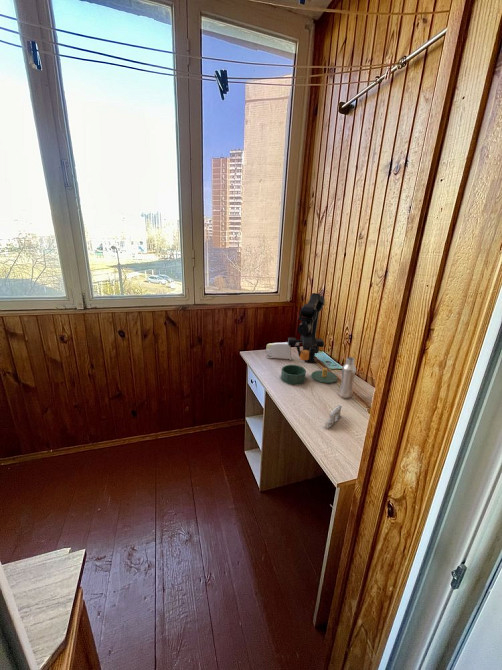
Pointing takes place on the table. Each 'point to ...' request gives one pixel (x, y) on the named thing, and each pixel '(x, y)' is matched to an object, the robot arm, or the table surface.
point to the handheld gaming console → (278, 350)
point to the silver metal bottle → (347, 378)
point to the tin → (293, 374)
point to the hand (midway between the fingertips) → (304, 356)
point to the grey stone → (333, 416)
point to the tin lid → (324, 376)
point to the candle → (304, 355)
